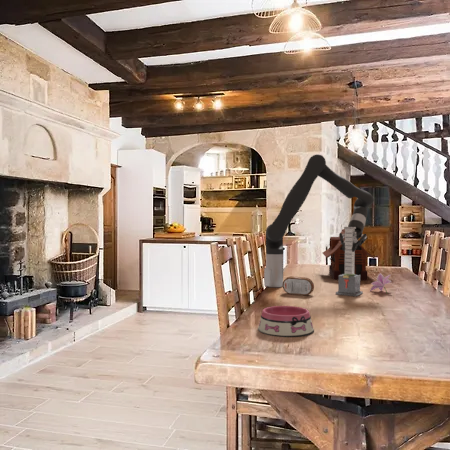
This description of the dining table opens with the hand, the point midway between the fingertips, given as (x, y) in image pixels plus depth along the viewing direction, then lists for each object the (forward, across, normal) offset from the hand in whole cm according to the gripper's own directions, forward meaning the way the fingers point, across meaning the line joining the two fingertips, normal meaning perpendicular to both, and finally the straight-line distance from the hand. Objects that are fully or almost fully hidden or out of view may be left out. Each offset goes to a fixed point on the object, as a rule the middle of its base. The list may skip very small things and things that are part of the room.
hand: (348, 250), depth 219 cm
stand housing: (+14, 0, +16) cm, 21 cm away
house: (-28, -21, +58) cm, 67 cm away
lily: (+4, +11, +27) cm, 29 cm away
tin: (+25, -20, +6) cm, 32 cm away
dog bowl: (+70, +5, -39) cm, 81 cm away
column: (+8, 0, +11) cm, 14 cm away
